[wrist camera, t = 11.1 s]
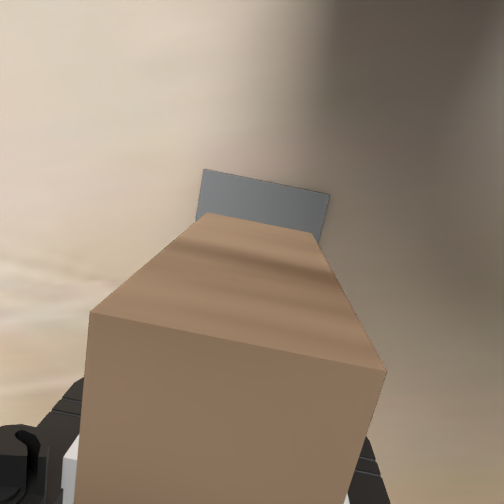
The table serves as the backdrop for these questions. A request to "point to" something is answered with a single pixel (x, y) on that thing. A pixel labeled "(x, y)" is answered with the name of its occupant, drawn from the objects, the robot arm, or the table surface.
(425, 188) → the table surface
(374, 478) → the robot arm
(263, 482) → the stepped wooden block
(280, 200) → the pad
